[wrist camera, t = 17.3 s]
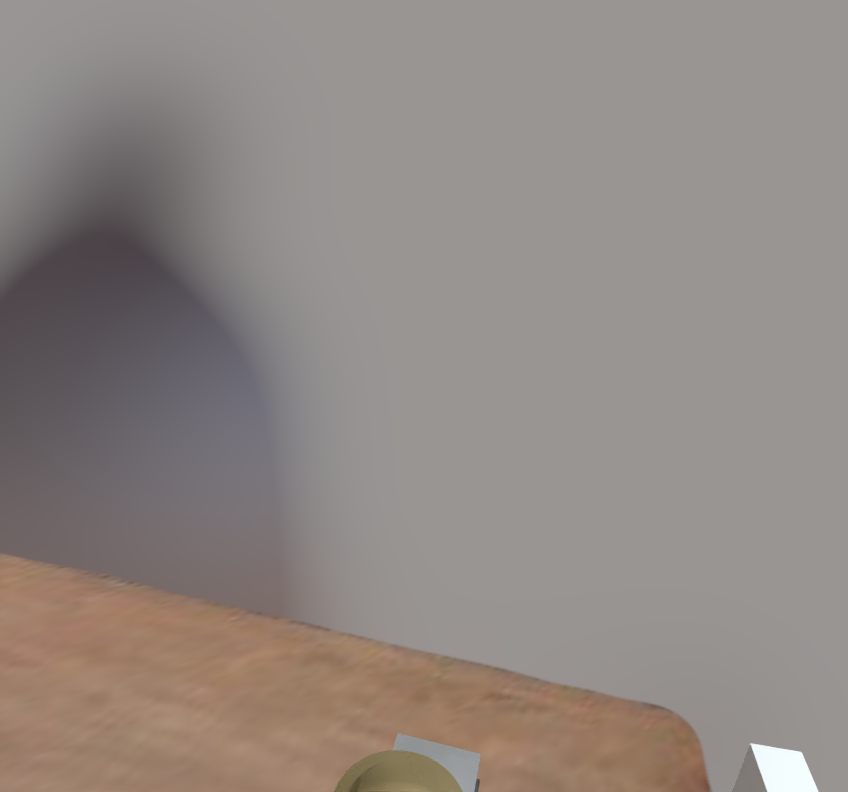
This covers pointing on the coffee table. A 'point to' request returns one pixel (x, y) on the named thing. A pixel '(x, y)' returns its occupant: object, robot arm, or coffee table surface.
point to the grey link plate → (446, 759)
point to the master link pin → (397, 774)
